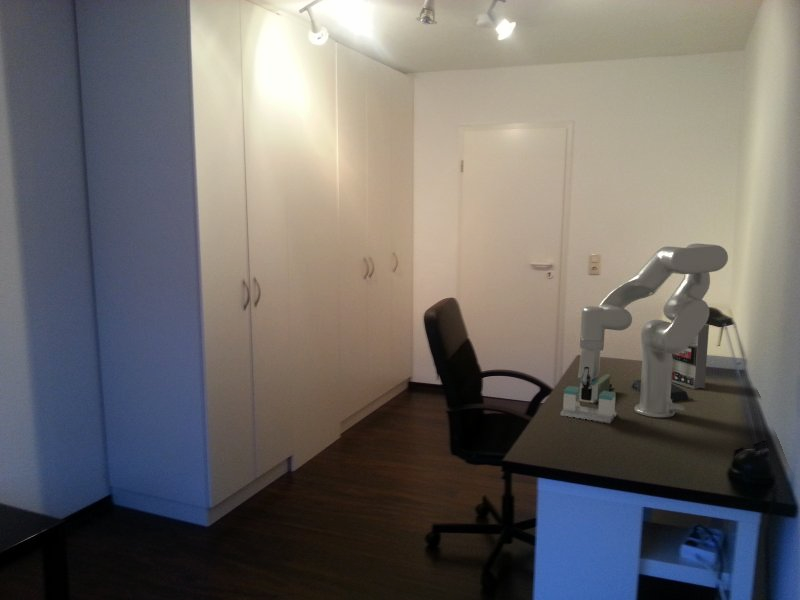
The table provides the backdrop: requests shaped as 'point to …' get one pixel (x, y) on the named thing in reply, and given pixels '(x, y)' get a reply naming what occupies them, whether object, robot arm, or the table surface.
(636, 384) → the external hard drive
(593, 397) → the block
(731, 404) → the table surface
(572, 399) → the rail plate
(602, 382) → the handheld radio
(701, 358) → the grey printed box
